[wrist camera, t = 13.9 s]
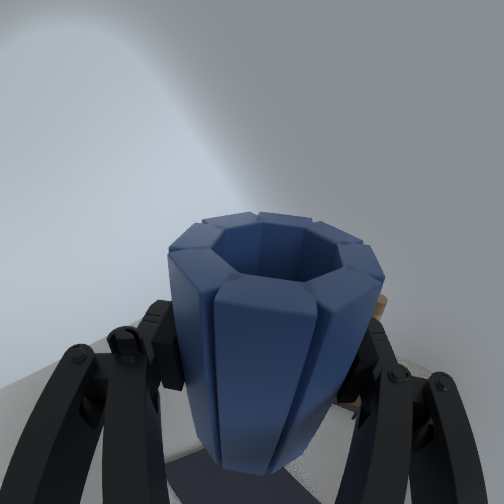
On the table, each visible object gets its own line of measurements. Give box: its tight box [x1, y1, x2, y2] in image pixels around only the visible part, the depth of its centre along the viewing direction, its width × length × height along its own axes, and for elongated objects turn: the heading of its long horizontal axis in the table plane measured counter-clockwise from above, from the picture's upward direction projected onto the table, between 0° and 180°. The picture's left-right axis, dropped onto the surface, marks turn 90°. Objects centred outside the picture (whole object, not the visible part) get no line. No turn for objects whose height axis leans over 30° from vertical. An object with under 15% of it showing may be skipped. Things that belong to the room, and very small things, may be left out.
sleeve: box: [167, 212, 385, 475], centre depth 10 cm, size 6×6×11 cm
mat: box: [165, 449, 321, 504], centre depth 20 cm, size 14×12×1 cm
